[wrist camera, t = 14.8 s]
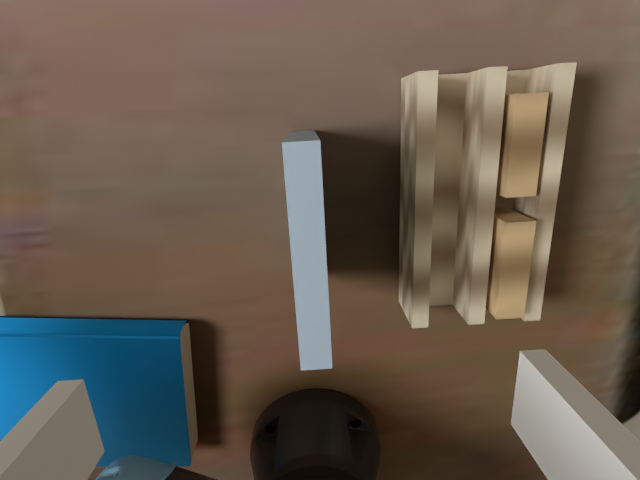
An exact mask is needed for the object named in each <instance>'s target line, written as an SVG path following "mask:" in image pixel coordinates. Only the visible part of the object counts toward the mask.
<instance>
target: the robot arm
mask: <svg viewBox="0 0 640 480" xmlns="http://www.w3.org/2000/svg"><path fill="white" fill-rule="evenodd" d="M511 425H512V427H513V428H514V430H515V431H516V433H517V434H518V436H519V437H520V439H521V440H522V442H523V443H524V445H525V446H526V448H527V449H528V451H529V452H530V454H531V455H532V457H533V458H534V460H535V461H536V463H537V464H538V466H539V467H540V469H541V470H542V472H543V473H544V475H545V476H546V478H547V479H548V480H640V442H639V440H637V438H635V436H633V435H632V434H631V433H630V432H629V431H628V430H627V429H626V428H625V427H624V426H623V425H622V424H621V423H620V422H619V421H618V420H617V419H616V418H615V417H614V416H613V415H612V414H611V413H610V412H609V411H608V410H607V409H606V408H605V407H604V406H603V405H602V404H601V403H600V402H599V401H598V400H597V399H596V398H595V397H594V396H592V395H591V394H590V393H589V392H588V391H587V390H586V389H585V388H584V387H583V386H582V385H581V384H580V383H579V382H578V381H577V380H576V379H575V378H574V377H573V376H572V375H571V374H570V373H569V372H568V371H567V370H566V369H565V368H564V367H563V366H562V365H561V364H560V363H559V362H558V361H557V360H556V359H555V358H553V357H552V356H551V355H550V354H549V353H548V352H547V351H546V350H545V349H543V350H527V351H520V355H519V363H518V371H517V379H516V387H515V394H514V402H513V410H512V418H511ZM104 452H105V451H104V447H103V444H102V440H101V437H100V434H99V430H98V427H97V423H96V420H95V417H94V413H93V410H92V407H91V403H90V400H89V396H88V393H87V390H86V386H85V383H84V379H81V380H65V381H57V382H56V383H55V384H54V385H53V386H52V387H51V388H50V389H49V391H48V392H47V393H46V394H45V395H44V396H43V397H42V398H41V399H40V400H39V401H38V402H37V403H36V404H35V405H34V406H33V407H32V408H31V409H30V411H29V412H28V413H27V414H26V415H25V416H24V417H23V418H22V419H21V420H20V421H19V422H18V423H17V424H16V425H15V426H14V427H13V428H12V429H11V430H10V432H9V433H8V434H7V435H6V436H5V437H4V438H3V439H2V440H1V441H0V480H87V479H88V478H89V476H90V475H91V473H92V471H93V470H94V468H95V466H96V465H97V463H98V461H99V460H100V458H101V456H102V455H103V453H104ZM250 459H251V465H252V470H253V475H254V480H376V478H377V472H378V466H379V459H380V443H379V438H378V433H377V429H376V425H375V422H374V420H373V418H372V416H371V415H370V413H369V412H368V411H367V410H366V408H365V407H364V406H363V405H361V404H360V403H359V402H358V401H356V400H355V399H353V398H351V397H349V396H347V395H345V394H342V393H339V392H336V391H331V390H325V389H309V390H302V391H297V392H294V393H291V394H288V395H286V396H283V397H281V398H279V399H278V400H276V401H275V402H273V403H272V404H271V405H269V406H268V407H267V408H266V409H265V410H264V411H263V413H262V414H261V415H260V417H259V418H258V420H257V422H256V424H255V427H254V430H253V435H252V441H251V448H250ZM177 465H178V463H175V462H172V463H170V464H168V463H164V462H160V461H156V460H153V459H149V458H145V457H141V456H138V455H127V456H123V457H121V458H119V459H117V460H115V461H113V462H112V463H111V464H110V465H109V466H107V467H106V468H105V469H104V470H103V471H102V473H101V474H100V475H99V476H98V477H97V478H96V480H216V479H213V478H210V477H207V476H204V475H201V474H198V473H195V472H192V471H189V470H186V469H183V468H180V467H177Z"/></svg>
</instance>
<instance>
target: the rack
mask: <svg viewBox="0 0 640 480" xmlns="http://www.w3.org/2000/svg"><path fill="white" fill-rule="evenodd" d="M576 64H577V62H575V63H557V64H553V65H548V66H543V67H539V68H534V69H529V70H517V71H507V69H508V66H504V67H487V68H484V69H480V70H477V71H473V72H470V73H463V74H445V75H438V70H432V71H418V72H416V73H413V74H411V75H408V76H406V77H404V78H401V146H400V232H399V303H400V305H401V307H402V309H403V311H404V313H405V315H406V317H407V319H408V321H409V323H410V325H411V327H412V328H425V327H428V320H429V306H437V305H453V306H454V307H455V308H456V310H457V311H458V312H459V313H460V315H461V316H462V317H463V319H464V320H465V321H466V322H467V324H468V325H472V324H484V320H485V309H486V299H487V288H488V277H489V266H490V255H491V244H492V233H493V222H494V211H495V208H505V207H507V208H509V209H511V210H513V211H515V212H518V213H520V214H522V215H524V216H526V217H529V218H531V219H533V220H535V221H536V229H535V237H534V245H533V253H532V260H531V268H530V276H529V284H528V292H527V299H526V307H525V315H524V318H521V319H522V320H523V321H534V320H540V316H541V309H542V302H543V295H544V288H545V281H546V274H547V267H548V260H549V253H550V246H551V239H552V232H553V225H554V218H555V211H556V204H557V197H558V190H559V183H560V176H561V169H562V162H563V155H564V148H565V141H566V134H567V127H568V120H569V113H570V106H571V99H572V92H573V85H574V78H575V71H576ZM540 92H549V96H548V104H547V112H546V120H545V128H544V136H543V144H542V152H541V160H540V168H539V176H538V184H537V192H536V196H529V197H512V198H505V197H503V196H500V195H498V194H496V189H497V178H498V167H499V156H500V145H501V134H502V123H503V112H504V102H505V95H510V94H522V93H540Z"/></svg>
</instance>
